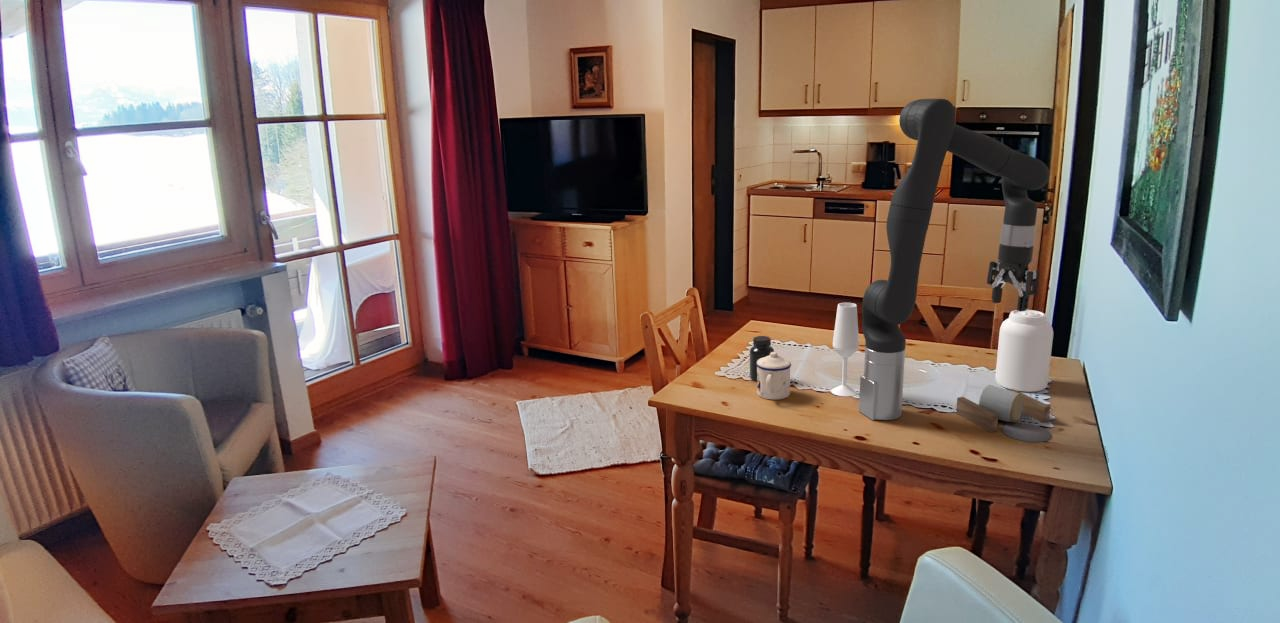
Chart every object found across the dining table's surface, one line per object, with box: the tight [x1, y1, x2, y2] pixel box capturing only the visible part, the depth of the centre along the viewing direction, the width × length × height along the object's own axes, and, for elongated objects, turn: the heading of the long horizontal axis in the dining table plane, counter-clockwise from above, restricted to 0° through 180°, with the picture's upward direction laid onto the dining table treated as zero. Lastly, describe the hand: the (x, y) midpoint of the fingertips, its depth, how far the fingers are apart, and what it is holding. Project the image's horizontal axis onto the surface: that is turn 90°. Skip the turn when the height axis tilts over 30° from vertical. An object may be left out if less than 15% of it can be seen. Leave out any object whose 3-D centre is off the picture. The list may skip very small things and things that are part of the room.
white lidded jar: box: [994, 309, 1054, 393], centre depth 196 cm, size 12×12×20 cm
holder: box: [955, 389, 1051, 433], centre depth 178 cm, size 16×12×4 cm
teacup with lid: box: [756, 351, 792, 401], centre depth 196 cm, size 12×9×12 cm
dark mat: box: [1001, 422, 1052, 443], centre depth 170 cm, size 10×10×1 cm
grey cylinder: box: [978, 384, 1024, 423], centre depth 178 cm, size 11×8×8 cm
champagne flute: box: [830, 302, 860, 397], centre depth 195 cm, size 7×7×24 cm
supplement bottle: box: [749, 335, 775, 383], centre depth 209 cm, size 7×7×12 cm
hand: (1008, 306), depth 186 cm, fingers open, 8 cm apart
